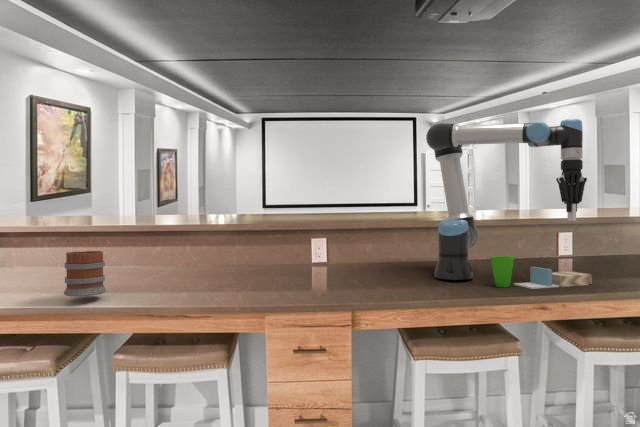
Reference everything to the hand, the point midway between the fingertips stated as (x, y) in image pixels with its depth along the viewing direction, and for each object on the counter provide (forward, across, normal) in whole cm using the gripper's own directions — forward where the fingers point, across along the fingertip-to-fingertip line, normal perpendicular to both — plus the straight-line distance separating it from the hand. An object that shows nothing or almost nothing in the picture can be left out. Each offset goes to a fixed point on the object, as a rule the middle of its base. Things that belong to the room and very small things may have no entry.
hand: (571, 220), depth 193 cm
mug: (+25, -177, +46) cm, 185 cm away
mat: (+24, -17, 0) cm, 30 cm away
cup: (+25, -29, +4) cm, 38 cm away
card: (+21, -14, 0) cm, 25 cm away
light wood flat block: (+24, -3, 0) cm, 25 cm away
